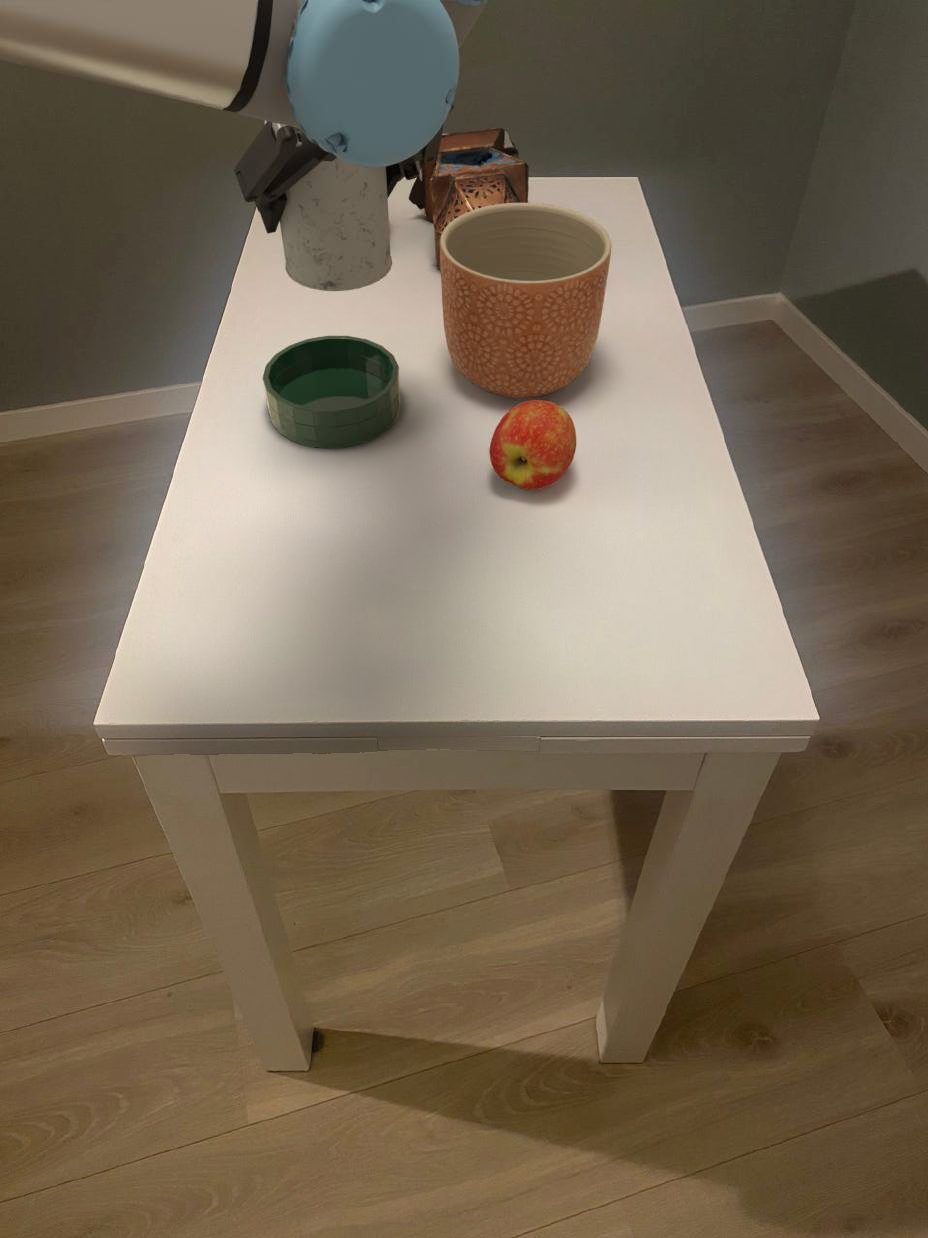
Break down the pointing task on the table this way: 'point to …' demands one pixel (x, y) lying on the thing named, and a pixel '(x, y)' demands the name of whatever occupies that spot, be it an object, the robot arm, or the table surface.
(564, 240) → the planter
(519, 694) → the table surface
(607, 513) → the table surface
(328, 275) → the dirty tin can
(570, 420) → the apple
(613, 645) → the table surface
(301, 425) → the green bowl
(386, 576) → the table surface
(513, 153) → the lantern
